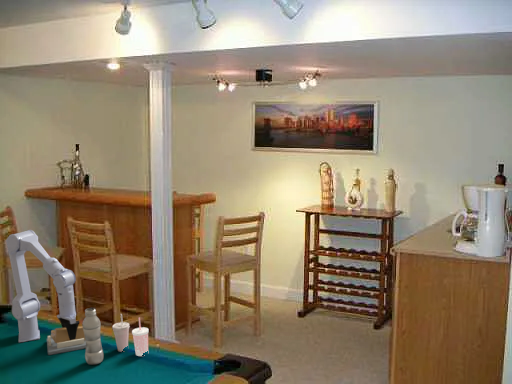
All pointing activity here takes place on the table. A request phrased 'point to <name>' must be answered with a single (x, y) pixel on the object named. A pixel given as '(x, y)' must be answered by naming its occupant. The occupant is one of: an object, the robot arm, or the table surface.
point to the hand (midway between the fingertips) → (69, 336)
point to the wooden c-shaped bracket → (66, 334)
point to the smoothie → (121, 334)
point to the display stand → (64, 345)
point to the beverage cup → (140, 339)
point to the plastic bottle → (92, 337)
